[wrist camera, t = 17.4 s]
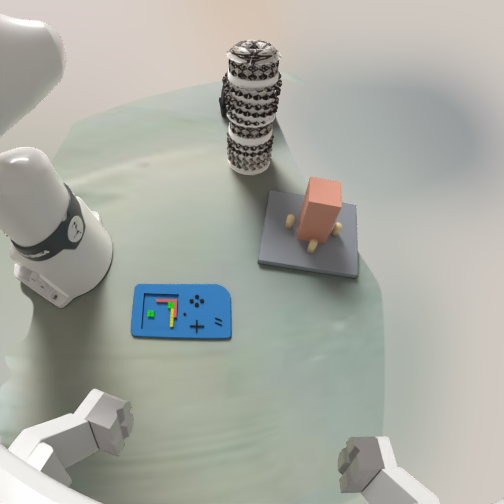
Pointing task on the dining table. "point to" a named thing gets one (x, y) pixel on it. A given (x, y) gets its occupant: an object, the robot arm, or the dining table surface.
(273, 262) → the plate
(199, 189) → the dining table surface
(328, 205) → the salmon pink block
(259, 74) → the decorative candle
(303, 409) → the dining table surface
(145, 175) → the dining table surface
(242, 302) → the dining table surface
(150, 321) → the handheld gaming device
